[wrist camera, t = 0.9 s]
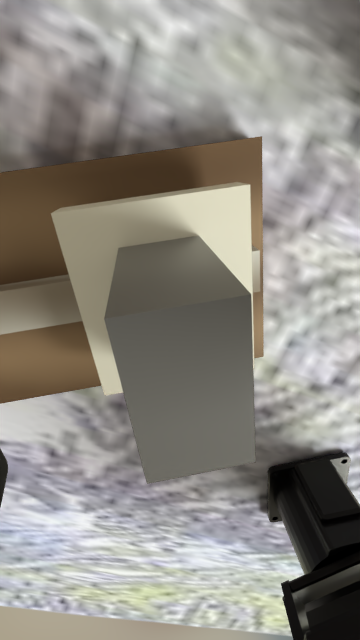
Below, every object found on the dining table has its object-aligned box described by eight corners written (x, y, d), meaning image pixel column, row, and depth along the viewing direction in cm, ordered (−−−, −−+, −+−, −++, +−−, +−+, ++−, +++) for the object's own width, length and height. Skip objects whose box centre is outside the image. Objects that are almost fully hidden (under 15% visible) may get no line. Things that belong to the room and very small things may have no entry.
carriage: (238, 341, 17) (321, 483, 10) (108, 364, 17) (87, 531, 9) (231, 180, 13) (353, 202, 6) (65, 205, 13) (-32, 261, 6)
